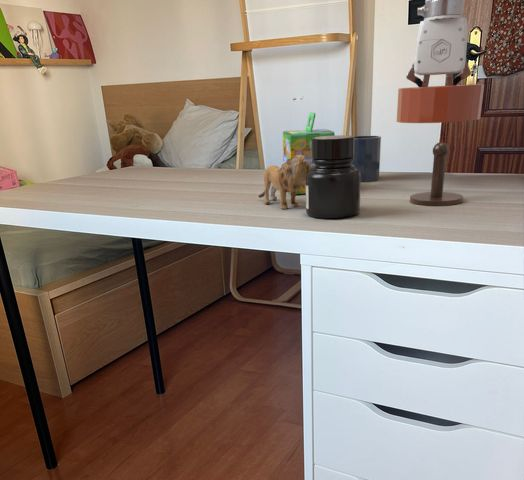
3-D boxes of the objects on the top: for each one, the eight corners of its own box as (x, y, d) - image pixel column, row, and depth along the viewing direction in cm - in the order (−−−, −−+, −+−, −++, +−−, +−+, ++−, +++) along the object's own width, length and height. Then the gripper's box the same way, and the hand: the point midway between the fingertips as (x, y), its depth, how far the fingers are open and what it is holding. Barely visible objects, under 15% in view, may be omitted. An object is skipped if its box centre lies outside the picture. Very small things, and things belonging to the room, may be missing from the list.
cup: (379, 176, 122) (381, 135, 118) (378, 181, 116) (380, 138, 112) (347, 177, 124) (347, 136, 120) (343, 182, 118) (344, 139, 114)
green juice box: (283, 188, 114) (280, 113, 107) (325, 185, 115) (325, 111, 108) (290, 195, 106) (287, 115, 99) (335, 192, 106) (335, 112, 100)
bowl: (471, 114, 115) (475, 84, 113) (484, 121, 95) (489, 84, 93) (398, 117, 119) (399, 87, 116) (395, 124, 99) (398, 88, 97)
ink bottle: (331, 206, 94) (332, 134, 89) (371, 211, 88) (375, 134, 83) (293, 215, 88) (291, 139, 83) (333, 222, 82) (334, 140, 77)
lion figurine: (318, 207, 94) (318, 154, 90) (295, 212, 91) (293, 157, 87) (269, 198, 105) (267, 150, 101) (247, 202, 102) (244, 152, 98)
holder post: (460, 196, 97) (466, 138, 92) (465, 205, 89) (472, 143, 85) (409, 196, 99) (413, 140, 94) (409, 206, 91) (414, 145, 87)
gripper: (401, 13, 105) (395, 113, 114) (489, 6, 102) (476, 110, 110) (402, 17, 112) (396, 112, 120) (484, 10, 108) (473, 109, 116)
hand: (435, 110), depth 115 cm, fingers closed on bowl, 3 cm apart
